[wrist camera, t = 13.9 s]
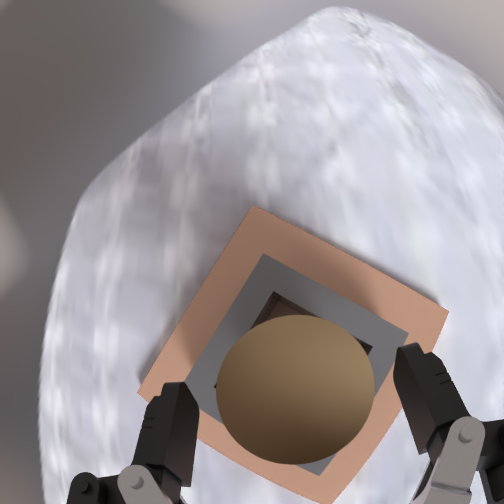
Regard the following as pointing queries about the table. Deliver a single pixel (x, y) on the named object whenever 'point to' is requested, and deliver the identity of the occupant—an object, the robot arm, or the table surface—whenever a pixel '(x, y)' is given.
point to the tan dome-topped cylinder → (295, 389)
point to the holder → (284, 304)
